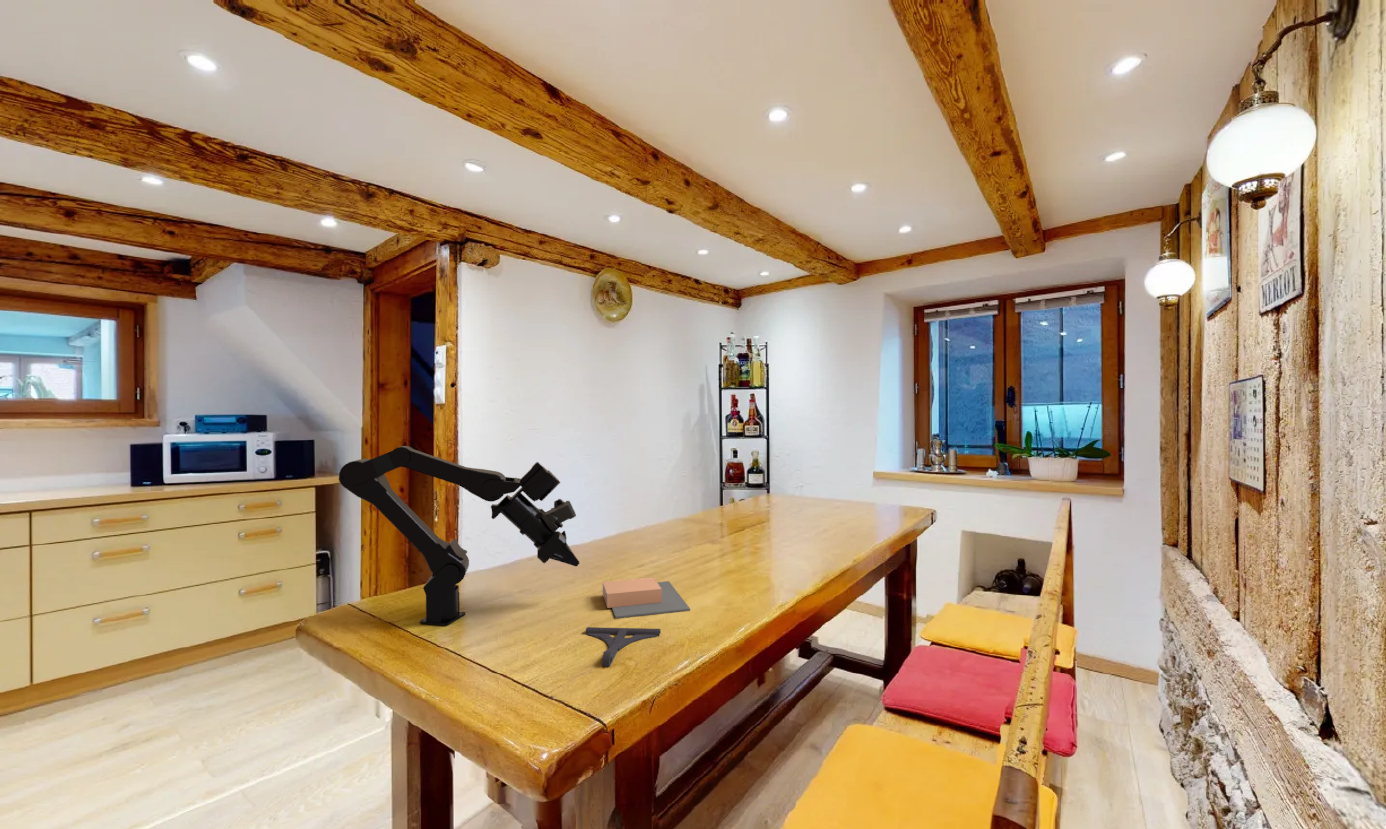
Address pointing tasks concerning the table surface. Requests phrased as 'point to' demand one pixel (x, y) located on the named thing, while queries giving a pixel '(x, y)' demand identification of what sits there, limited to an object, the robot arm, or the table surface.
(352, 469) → the robot arm
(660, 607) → the mat
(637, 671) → the table surface
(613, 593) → the brick
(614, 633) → the bracket
